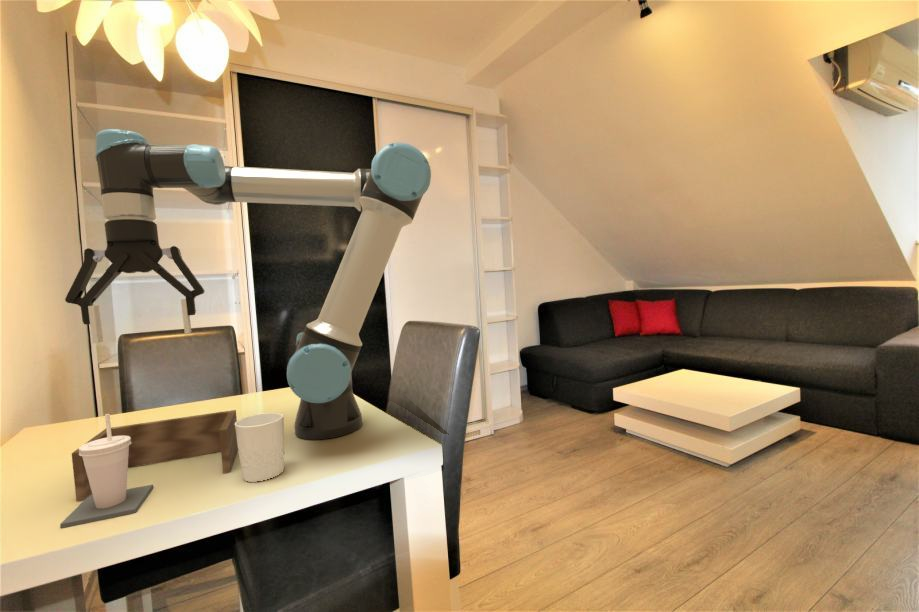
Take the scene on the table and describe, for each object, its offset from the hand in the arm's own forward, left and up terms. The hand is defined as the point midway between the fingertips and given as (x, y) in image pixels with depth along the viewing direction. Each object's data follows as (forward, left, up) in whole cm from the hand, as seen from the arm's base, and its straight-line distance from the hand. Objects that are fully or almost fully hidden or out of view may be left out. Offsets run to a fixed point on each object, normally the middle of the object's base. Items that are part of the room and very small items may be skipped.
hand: (144, 337), depth 78 cm
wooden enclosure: (-2, 0, -25) cm, 25 cm away
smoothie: (+3, +12, -25) cm, 28 cm away
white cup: (-19, +11, -26) cm, 33 cm away
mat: (+3, +12, -25) cm, 28 cm away
